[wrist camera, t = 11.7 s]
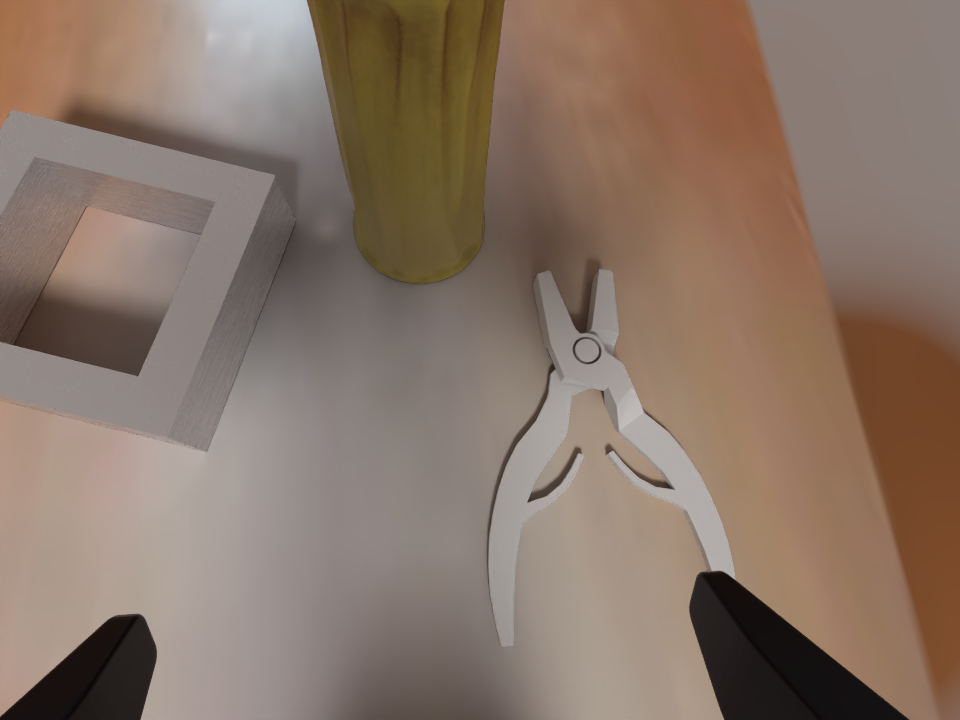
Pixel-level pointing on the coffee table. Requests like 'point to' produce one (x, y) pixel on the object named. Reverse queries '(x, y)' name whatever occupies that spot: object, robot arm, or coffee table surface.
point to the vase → (412, 125)
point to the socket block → (198, 299)
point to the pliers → (578, 370)
